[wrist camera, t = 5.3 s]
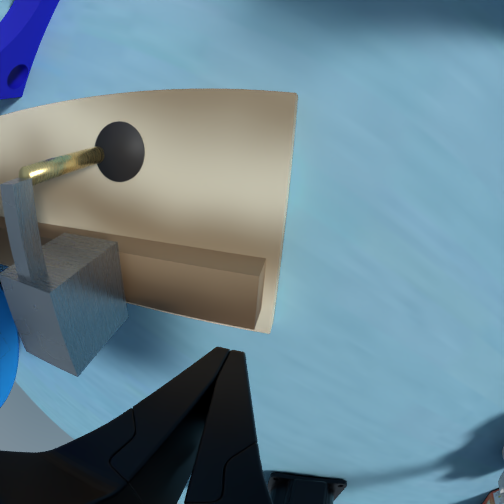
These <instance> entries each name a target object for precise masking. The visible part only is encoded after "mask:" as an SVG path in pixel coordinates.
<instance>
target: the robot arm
mask: <svg viewBox="0 0 504 504" xmlns="http://www.w3.org/2000/svg"><path fill="white" fill-rule="evenodd" d="M191 473H192V474H191ZM190 475H191V478H190V482H189V485H188V489H187V493H186V497H185V501H184V503H185V504H333V501H334V500H335V499H336V498H337V497H338V495H339V494H340V493H341V492H342V491H343V490H344V488H345V487H346V486H347V481H345V480H335V479H322V478H312V477H303V476H295V475H288V474H281V473H272V474H271V475H270V479H269V482H268V485H267V484H266V481H265V477H264V474H263V470H262V465H261V460H260V455H259V448H258V444H257V435H256V428H255V421H254V414H253V407H252V400H251V393H250V386H249V378H248V371H247V364H246V356H245V353H244V352H241V351H236V350H231V351H230V350H229V349H226V348H222V347H216V348H214V349H213V350H212V351H210V352H209V353H208V354H206V355H205V356H204V357H202V358H201V359H199V360H198V361H197V362H195V363H194V364H193V365H191V366H190V367H189V368H187V369H186V370H184V371H183V372H182V373H180V374H179V375H178V376H176V377H175V378H173V379H172V380H171V381H169V382H168V383H166V384H165V385H164V386H162V387H161V388H159V389H158V390H156V391H155V392H154V393H152V394H151V395H149V396H148V397H146V398H145V399H144V400H142V401H141V402H139V403H138V404H136V405H135V406H133V409H132V408H130V409H129V410H127V411H126V412H124V413H123V414H121V415H120V416H118V417H117V418H115V419H113V420H112V421H110V422H109V423H107V424H105V425H103V426H101V427H100V428H98V429H96V430H94V431H92V432H90V433H88V434H86V435H84V436H82V437H80V438H77V439H75V440H73V441H71V442H69V443H67V444H65V445H62V446H60V447H58V448H55V449H53V450H49V451H45V452H38V453H30V452H11V451H0V504H177V502H178V500H179V498H180V496H181V494H182V492H183V490H184V488H185V486H186V483H187V481H188V479H189V477H190Z"/></svg>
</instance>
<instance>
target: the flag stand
mask: <svg viewBox="0 0 504 504" xmlns="http://www.w3.org/2000/svg"><path fill="white" fill-rule="evenodd" d="M502 455H503V459H504V446H503V449H502ZM498 484H499V490H500V495H501V501H502V504H504V471H503V473H502V475H501V476H500V479H499V481H498Z"/></svg>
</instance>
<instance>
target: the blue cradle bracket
mask: <svg viewBox="0 0 504 504" xmlns="http://www.w3.org/2000/svg"><path fill="white" fill-rule="evenodd" d="M58 2H59V0H15V1H14V2H13V4H12V6H11V7H10V9H9V11H8V12H7V14H6V15H5V17H4V18H3V19H2V21H1V22H0V99H7V98H16V97H22V95H23V91H24V88H25V85H26V82H27V78H28V75H29V72H30V69H31V66H32V64H33V61H34V58H35V55H36V53H37V50H38V47H39V45H40V42H41V40H42V37H43V35H44V33H45V30H46V28H47V26H48V23H49V21H50V19H51V17H52V15H53V13H54V11H55V8H56V6H57V4H58Z"/></svg>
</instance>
